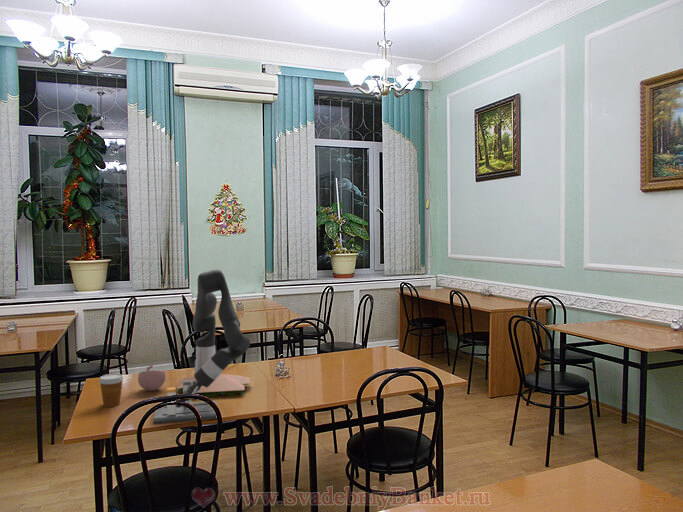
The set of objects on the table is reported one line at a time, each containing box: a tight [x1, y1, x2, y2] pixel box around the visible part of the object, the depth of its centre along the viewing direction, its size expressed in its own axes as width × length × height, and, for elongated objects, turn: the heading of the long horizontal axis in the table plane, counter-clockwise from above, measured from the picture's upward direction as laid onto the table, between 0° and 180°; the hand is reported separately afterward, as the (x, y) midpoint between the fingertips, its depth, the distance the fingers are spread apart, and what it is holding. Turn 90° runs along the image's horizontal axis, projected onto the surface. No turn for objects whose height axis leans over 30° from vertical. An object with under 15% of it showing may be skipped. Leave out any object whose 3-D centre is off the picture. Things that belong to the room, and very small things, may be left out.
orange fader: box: [166, 386, 177, 415], centre depth 199 cm, size 3×3×11 cm
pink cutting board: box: [176, 373, 251, 398], centre depth 236 cm, size 23×33×8 cm
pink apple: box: [137, 364, 167, 392], centre depth 236 cm, size 12×12×11 cm
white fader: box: [182, 380, 192, 407], centre depth 209 cm, size 3×3×11 cm
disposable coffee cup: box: [98, 373, 124, 408], centre depth 216 cm, size 10×10×12 cm
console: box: [152, 400, 218, 424], centre depth 205 cm, size 24×15×2 cm, turn 104°
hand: (177, 405), depth 199 cm, fingers closed
